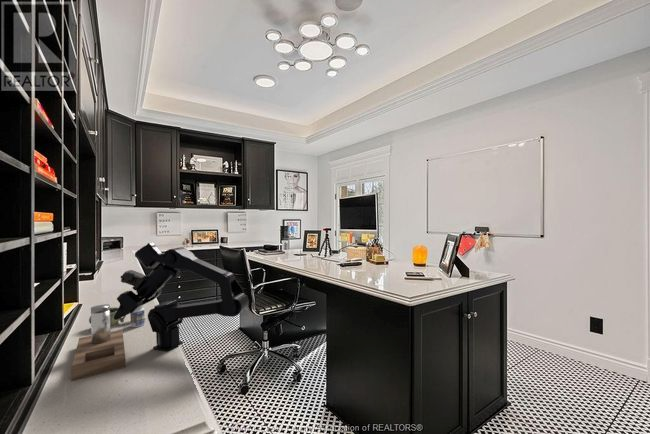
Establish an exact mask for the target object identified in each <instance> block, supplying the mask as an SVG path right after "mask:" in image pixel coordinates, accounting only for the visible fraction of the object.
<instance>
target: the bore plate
mask: <svg viewBox="0 0 650 434" xmlns="http://www.w3.org/2000/svg"><path fill="white" fill-rule="evenodd" d="M110 334H111V339H110V340H109V341H107V342H103V343H98V344H93V343H92V341H91V335H88V336H84V337H83V336H82V337H79V338H78V342H77V345H76V348H75V352H74V357H73V361H72V364H71V368H70V372H71V373H70V375H71V378H70V379H71V381H77V380H79V379H80V380H81V379H84V378H88V377H92V376H96V375H100V374H103V373H107V372H112V371H115V370H120V369H124V368H126V351H125V340H124V333H123V329H120V330H119V329H118V330H114V331H110Z"/></svg>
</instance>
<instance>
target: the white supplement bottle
mask: <svg viewBox="0 0 650 434" xmlns="http://www.w3.org/2000/svg"><path fill="white" fill-rule="evenodd" d="M143 308H144V316H145V320H146V319H147V316H148V313H147V312H148V311H147V309H148V303H146V304H144V305H143Z"/></svg>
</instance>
